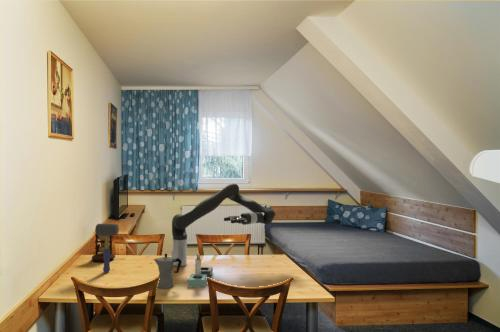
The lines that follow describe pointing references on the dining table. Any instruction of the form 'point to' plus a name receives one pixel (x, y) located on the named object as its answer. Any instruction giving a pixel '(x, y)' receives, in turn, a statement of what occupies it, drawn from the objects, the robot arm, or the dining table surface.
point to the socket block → (207, 271)
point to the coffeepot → (166, 271)
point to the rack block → (197, 281)
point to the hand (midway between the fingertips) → (227, 220)
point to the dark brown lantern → (102, 248)
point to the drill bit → (198, 267)
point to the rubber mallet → (106, 240)
